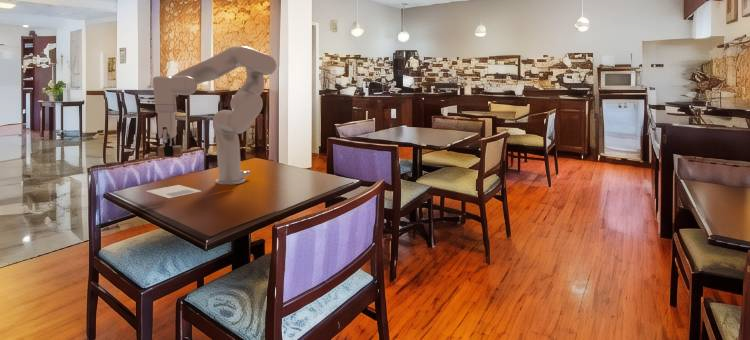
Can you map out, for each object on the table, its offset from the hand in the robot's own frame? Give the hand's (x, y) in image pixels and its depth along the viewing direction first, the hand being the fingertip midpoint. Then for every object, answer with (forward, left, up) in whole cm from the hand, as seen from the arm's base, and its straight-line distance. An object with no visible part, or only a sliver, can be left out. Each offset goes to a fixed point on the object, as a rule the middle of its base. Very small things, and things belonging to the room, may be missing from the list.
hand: (170, 154), depth 181 cm
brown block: (0, 0, -1) cm, 1 cm away
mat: (0, 0, -15) cm, 15 cm away
